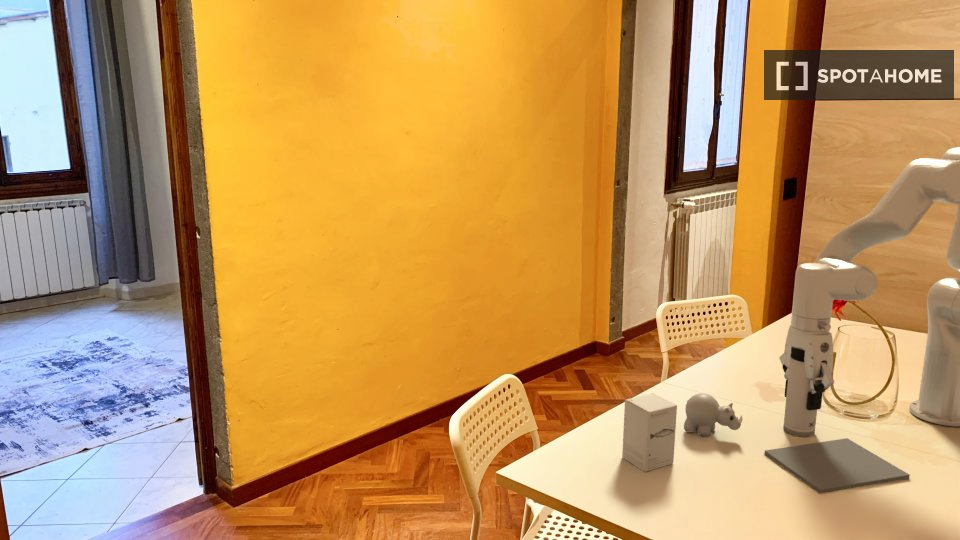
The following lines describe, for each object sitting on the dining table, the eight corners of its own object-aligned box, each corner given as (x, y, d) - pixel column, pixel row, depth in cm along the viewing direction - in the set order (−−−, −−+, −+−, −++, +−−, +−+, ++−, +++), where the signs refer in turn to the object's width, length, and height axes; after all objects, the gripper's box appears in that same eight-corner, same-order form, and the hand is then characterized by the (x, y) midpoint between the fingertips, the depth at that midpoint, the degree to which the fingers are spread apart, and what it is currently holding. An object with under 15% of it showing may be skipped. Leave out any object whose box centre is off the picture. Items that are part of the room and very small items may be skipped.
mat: (846, 441, 154) (847, 438, 154) (909, 478, 139) (909, 474, 139) (764, 454, 149) (764, 450, 149) (819, 493, 134) (820, 489, 134)
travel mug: (819, 438, 155) (829, 349, 151) (786, 436, 157) (795, 347, 152) (812, 426, 161) (821, 339, 157) (780, 423, 163) (788, 337, 158)
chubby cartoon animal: (735, 448, 152) (738, 409, 150) (678, 433, 158) (681, 396, 157) (745, 435, 157) (748, 398, 155) (690, 421, 164) (693, 385, 162)
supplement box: (645, 473, 142) (648, 412, 139) (621, 457, 148) (623, 398, 145) (674, 464, 145) (678, 404, 142) (649, 449, 151) (652, 391, 148)
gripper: (856, 333, 146) (846, 417, 151) (797, 310, 163) (790, 386, 167) (824, 336, 145) (815, 421, 149) (768, 312, 161) (761, 389, 165)
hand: (802, 402), depth 158 cm, fingers closed on travel mug, 6 cm apart
